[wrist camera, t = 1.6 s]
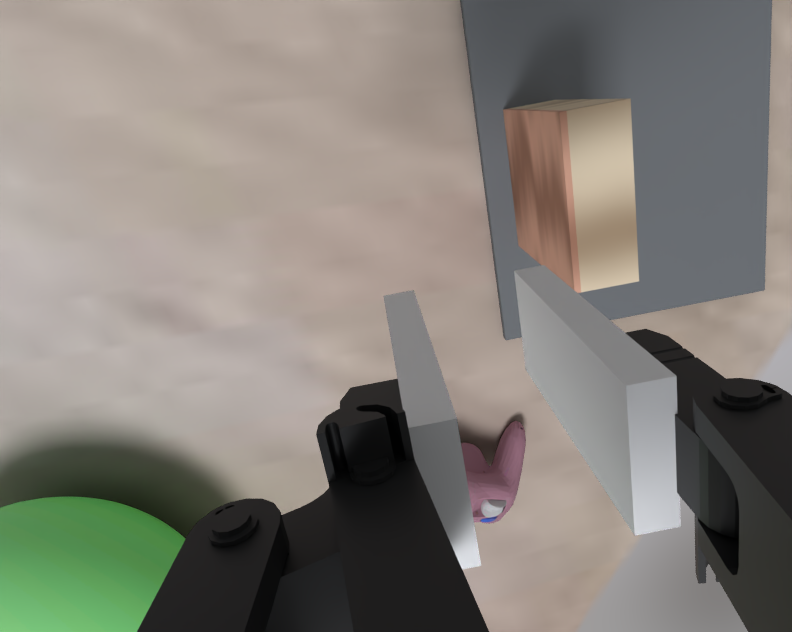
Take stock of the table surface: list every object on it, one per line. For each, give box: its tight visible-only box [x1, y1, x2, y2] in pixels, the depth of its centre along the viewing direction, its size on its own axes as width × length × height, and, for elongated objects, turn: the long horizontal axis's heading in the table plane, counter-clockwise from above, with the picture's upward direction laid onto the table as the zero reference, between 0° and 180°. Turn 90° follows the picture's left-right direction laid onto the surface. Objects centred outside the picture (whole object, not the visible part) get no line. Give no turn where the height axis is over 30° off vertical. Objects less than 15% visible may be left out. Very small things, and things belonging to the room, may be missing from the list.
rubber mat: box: [460, 0, 772, 340], centre depth 36 cm, size 20×17×1 cm
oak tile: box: [503, 98, 639, 293], centre depth 31 cm, size 8×3×10 cm, turn 10°
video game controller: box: [461, 421, 526, 523], centre depth 40 cm, size 10×5×7 cm, turn 71°
